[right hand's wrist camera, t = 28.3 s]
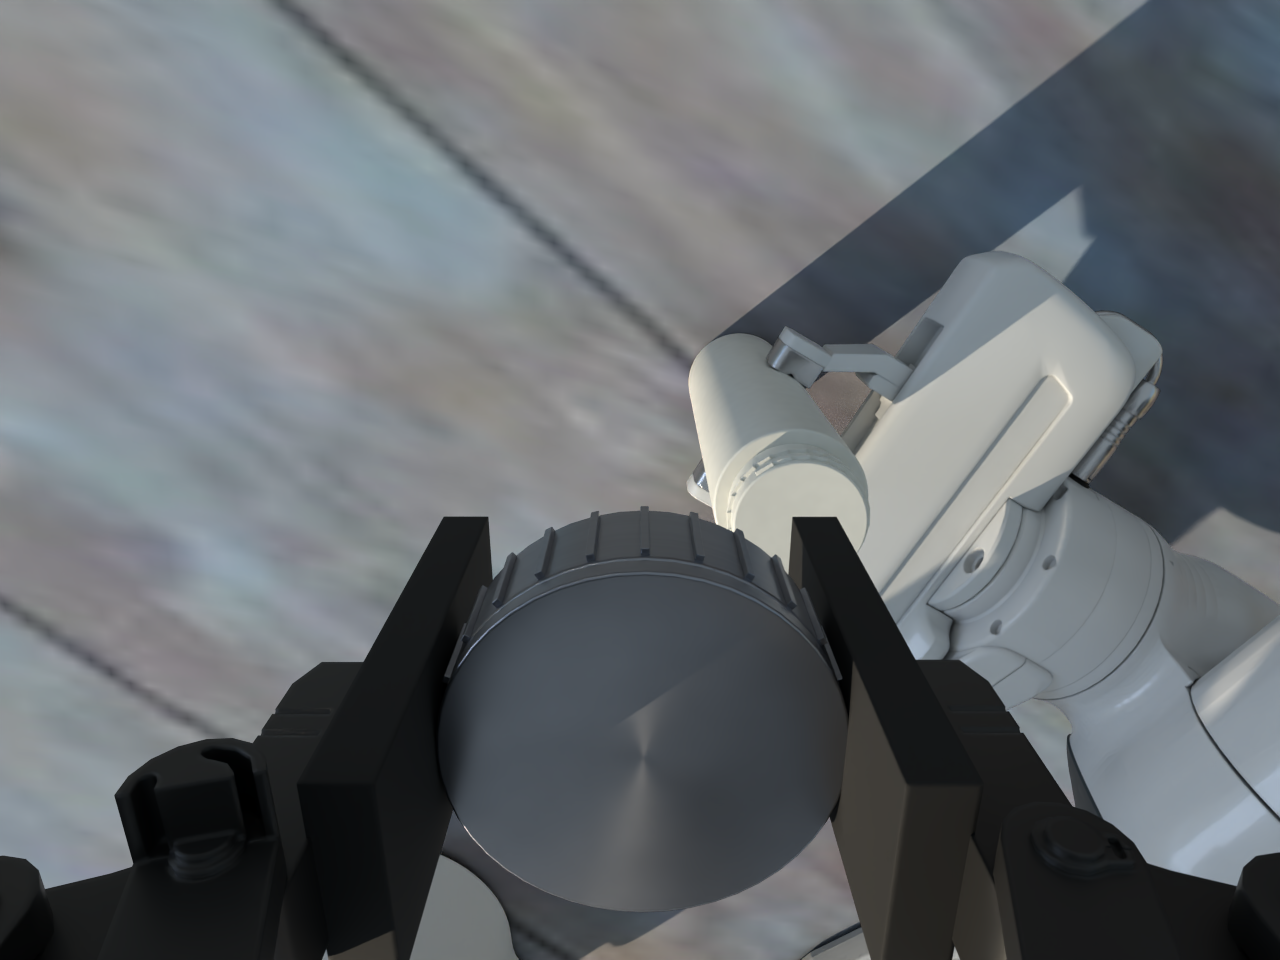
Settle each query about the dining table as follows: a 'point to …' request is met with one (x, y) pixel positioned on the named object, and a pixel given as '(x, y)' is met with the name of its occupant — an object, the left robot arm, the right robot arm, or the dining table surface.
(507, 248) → the dining table surface
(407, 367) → the dining table surface
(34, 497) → the dining table surface
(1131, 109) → the dining table surface
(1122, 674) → the left robot arm
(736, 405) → the off-white tall cylinder
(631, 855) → the lid
